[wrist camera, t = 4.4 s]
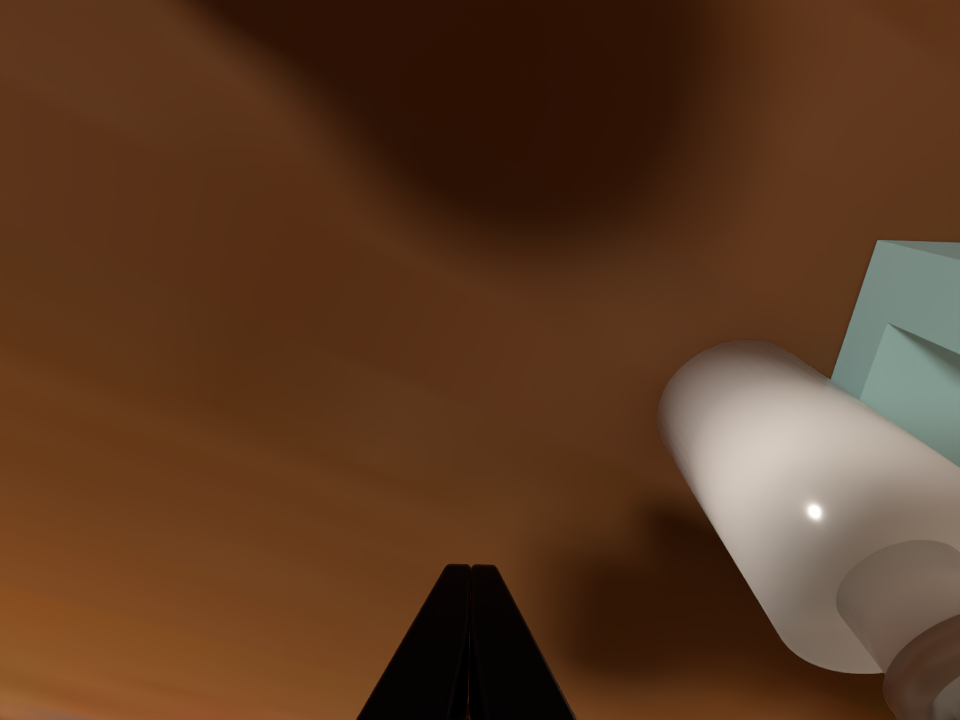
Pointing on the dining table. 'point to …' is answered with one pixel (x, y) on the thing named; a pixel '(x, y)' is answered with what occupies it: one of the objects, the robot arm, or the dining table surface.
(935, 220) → the dining table surface
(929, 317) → the teal rectangular tray
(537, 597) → the dining table surface
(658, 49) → the dining table surface
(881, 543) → the bottle
